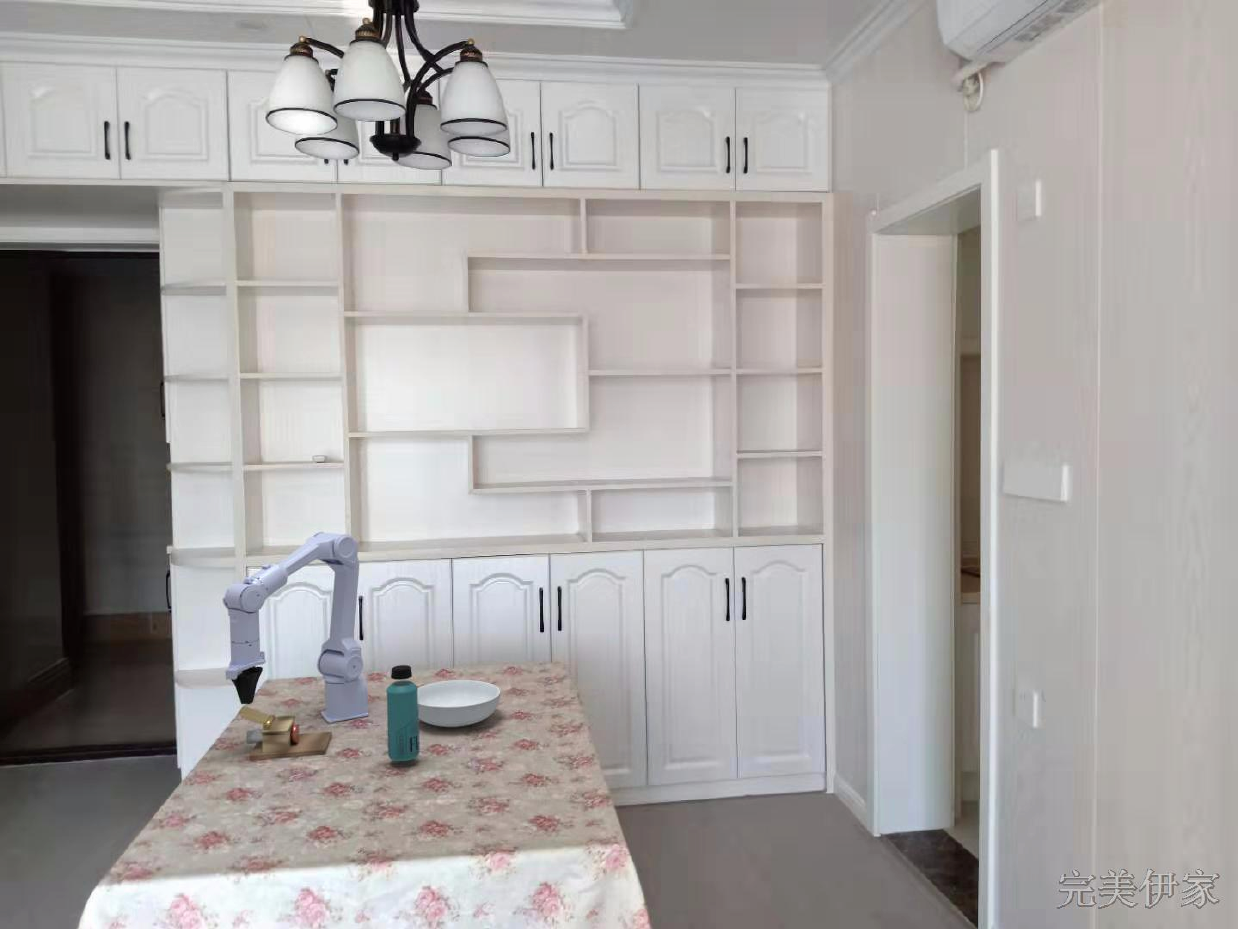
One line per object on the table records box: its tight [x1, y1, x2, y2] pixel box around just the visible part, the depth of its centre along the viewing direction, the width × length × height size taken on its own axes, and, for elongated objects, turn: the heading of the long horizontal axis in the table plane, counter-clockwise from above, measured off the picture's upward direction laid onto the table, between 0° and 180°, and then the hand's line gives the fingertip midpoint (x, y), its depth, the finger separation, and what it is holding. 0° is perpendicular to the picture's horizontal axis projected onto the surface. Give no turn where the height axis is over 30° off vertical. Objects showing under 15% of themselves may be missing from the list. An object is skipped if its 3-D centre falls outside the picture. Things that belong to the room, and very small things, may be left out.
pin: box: [245, 724, 301, 745], centre depth 185 cm, size 10×4×4 cm, turn 101°
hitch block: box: [249, 714, 333, 761], centre depth 186 cm, size 15×11×6 cm
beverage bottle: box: [386, 664, 421, 762], centre depth 177 cm, size 6×7×20 cm
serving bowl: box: [417, 679, 501, 728], centre depth 202 cm, size 21×21×7 cm
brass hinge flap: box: [236, 704, 274, 726], centre depth 184 cm, size 7×4×1 cm, turn 101°
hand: (247, 703), depth 184 cm, fingers closed
